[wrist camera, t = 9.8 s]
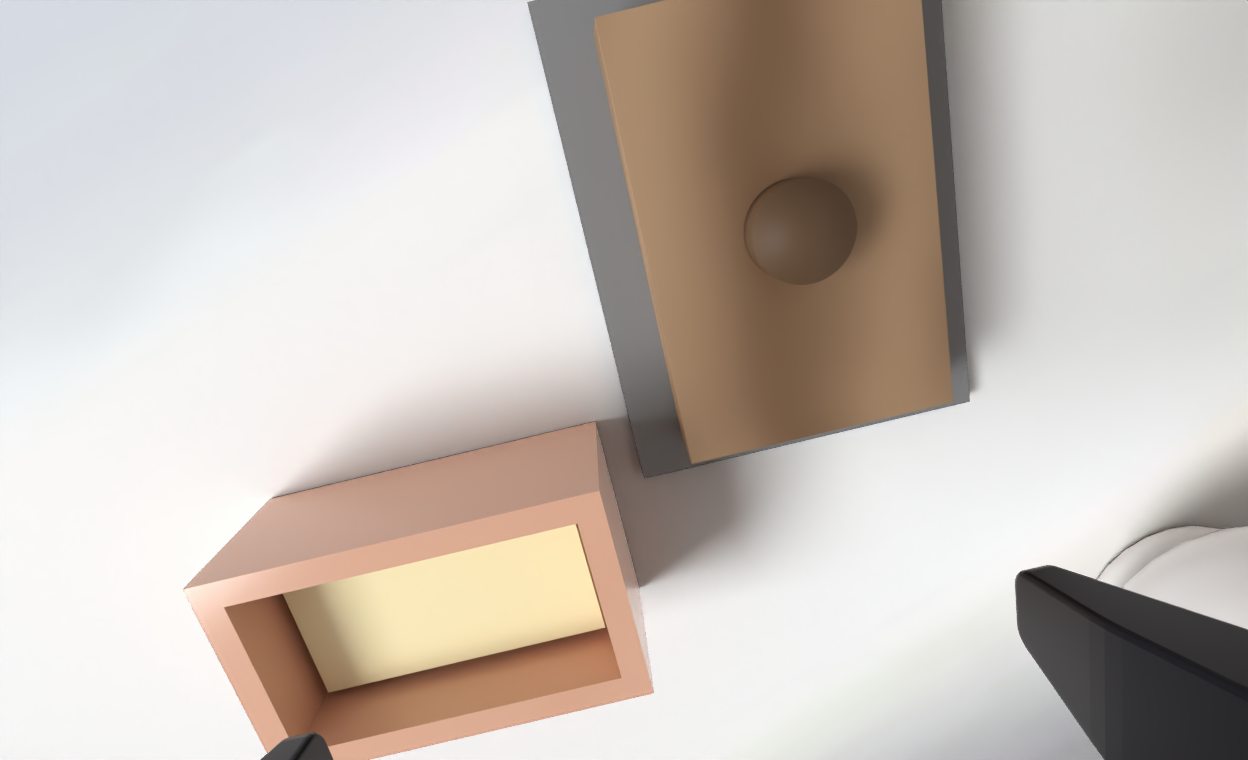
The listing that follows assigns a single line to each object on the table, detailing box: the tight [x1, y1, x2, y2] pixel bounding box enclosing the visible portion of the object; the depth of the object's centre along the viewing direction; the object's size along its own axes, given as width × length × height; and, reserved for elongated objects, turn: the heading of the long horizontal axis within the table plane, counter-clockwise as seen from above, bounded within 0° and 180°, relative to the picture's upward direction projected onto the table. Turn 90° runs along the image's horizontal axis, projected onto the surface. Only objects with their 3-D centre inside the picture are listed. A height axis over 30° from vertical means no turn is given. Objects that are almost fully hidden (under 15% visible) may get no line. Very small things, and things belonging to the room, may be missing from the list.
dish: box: [183, 421, 654, 760], centre depth 18 cm, size 6×10×4 cm, turn 103°
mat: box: [528, 0, 970, 479], centre depth 18 cm, size 13×10×1 cm
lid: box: [593, 0, 953, 464], centre depth 16 cm, size 7×11×3 cm, turn 13°
